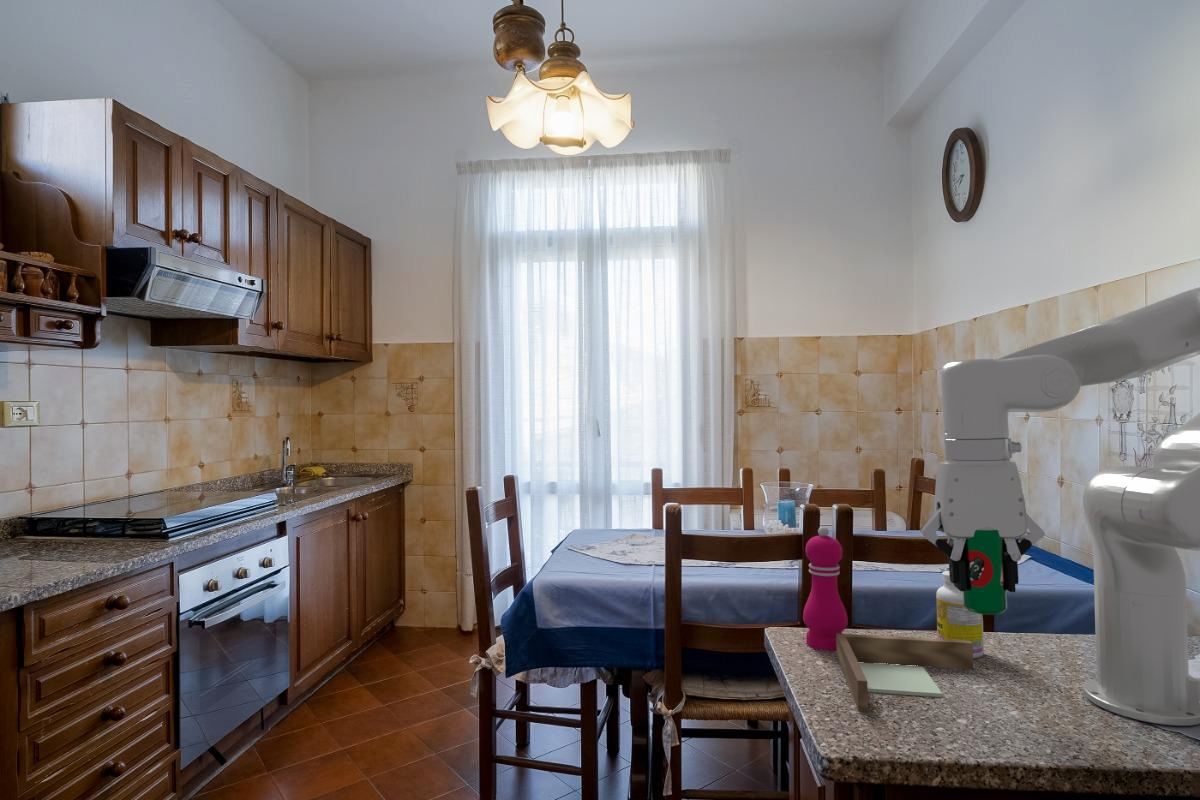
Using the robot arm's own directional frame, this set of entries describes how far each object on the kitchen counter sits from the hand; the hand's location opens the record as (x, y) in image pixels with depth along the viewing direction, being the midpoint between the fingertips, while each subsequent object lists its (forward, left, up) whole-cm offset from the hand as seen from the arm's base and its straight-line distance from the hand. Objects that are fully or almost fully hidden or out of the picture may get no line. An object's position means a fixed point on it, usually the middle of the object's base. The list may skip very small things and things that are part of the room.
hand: (983, 587), depth 87 cm
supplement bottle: (-3, -22, -16) cm, 27 cm away
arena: (+7, -6, -16) cm, 18 cm away
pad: (+10, -8, -16) cm, 20 cm away
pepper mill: (+18, -22, -16) cm, 32 cm away
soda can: (0, 0, -3) cm, 3 cm away
